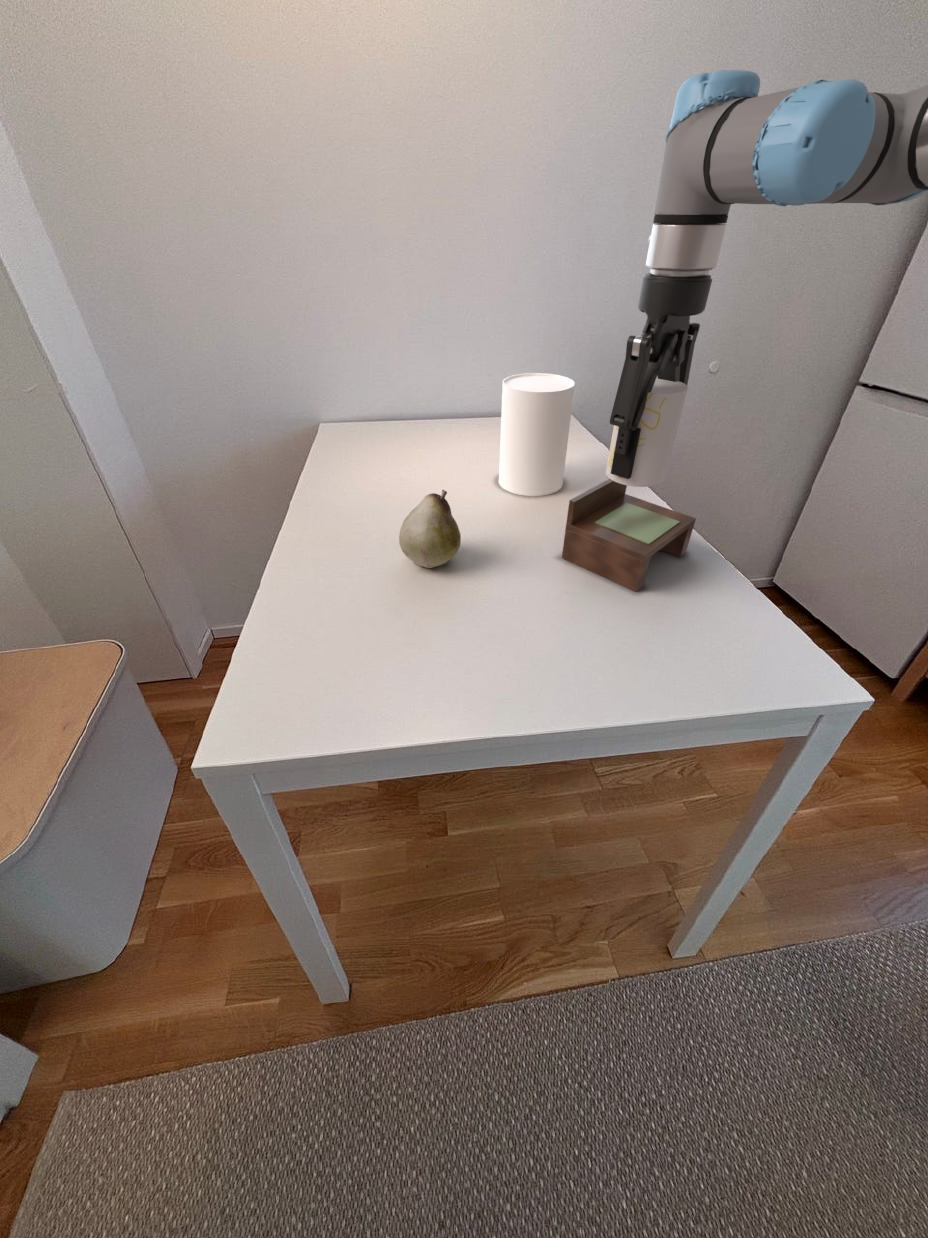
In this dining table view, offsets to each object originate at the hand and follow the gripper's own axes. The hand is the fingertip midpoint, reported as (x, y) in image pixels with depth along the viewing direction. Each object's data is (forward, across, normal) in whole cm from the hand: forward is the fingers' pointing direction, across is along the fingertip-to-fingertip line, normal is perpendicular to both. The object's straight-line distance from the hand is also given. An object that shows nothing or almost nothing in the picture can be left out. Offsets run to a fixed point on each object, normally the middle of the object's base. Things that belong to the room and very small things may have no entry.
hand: (637, 466), depth 72 cm
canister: (+18, -17, -31) cm, 40 cm away
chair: (+17, -5, -1) cm, 18 cm away
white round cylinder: (+1, 0, 0) cm, 1 cm away
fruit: (+18, +19, -24) cm, 35 cm away
